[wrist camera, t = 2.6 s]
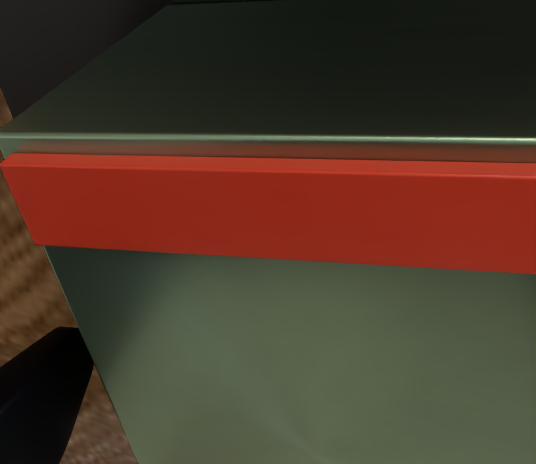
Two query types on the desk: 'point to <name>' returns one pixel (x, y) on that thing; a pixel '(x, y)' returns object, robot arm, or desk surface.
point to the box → (300, 229)
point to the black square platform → (63, 40)
